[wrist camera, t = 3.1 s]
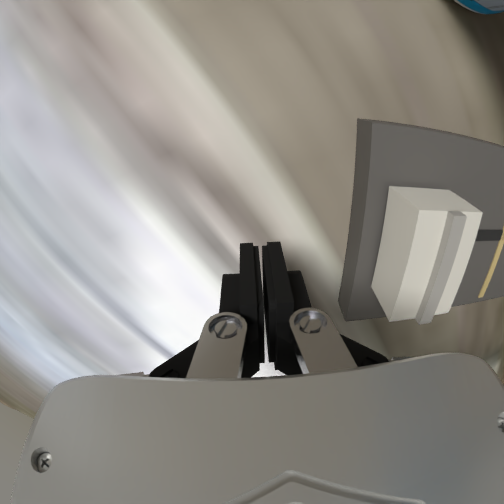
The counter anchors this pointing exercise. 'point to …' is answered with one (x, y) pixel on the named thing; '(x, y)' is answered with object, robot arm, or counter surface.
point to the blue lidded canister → (483, 6)
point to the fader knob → (423, 252)
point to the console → (422, 176)
